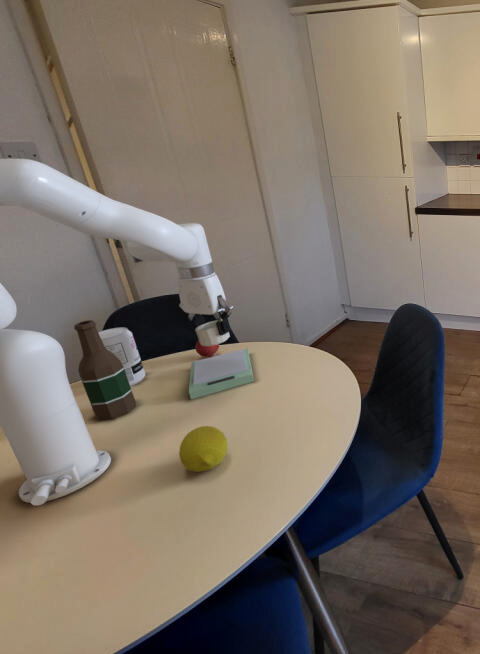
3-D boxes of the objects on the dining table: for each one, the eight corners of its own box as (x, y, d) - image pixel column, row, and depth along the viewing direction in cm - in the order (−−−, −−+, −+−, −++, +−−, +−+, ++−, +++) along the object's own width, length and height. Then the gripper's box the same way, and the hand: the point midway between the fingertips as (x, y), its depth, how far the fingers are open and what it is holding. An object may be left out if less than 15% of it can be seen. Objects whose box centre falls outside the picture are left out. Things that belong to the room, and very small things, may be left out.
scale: (253, 381, 114) (251, 372, 113) (190, 399, 106) (187, 389, 105) (249, 355, 128) (247, 346, 127) (193, 369, 121) (190, 360, 120)
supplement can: (99, 387, 112) (80, 338, 108) (133, 372, 120) (117, 325, 115) (120, 392, 110) (101, 341, 105) (153, 376, 117) (137, 328, 113)
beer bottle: (86, 418, 100) (50, 328, 92) (122, 399, 107) (91, 314, 99) (110, 423, 98) (75, 331, 90) (145, 403, 105) (115, 317, 98)
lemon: (231, 472, 83) (222, 439, 80) (182, 489, 79) (171, 455, 76) (231, 440, 91) (222, 410, 89) (187, 455, 87) (177, 423, 85)
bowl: (230, 341, 113) (224, 324, 112) (200, 350, 110) (194, 333, 109) (230, 333, 119) (225, 317, 117) (202, 341, 116) (196, 325, 114)
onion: (209, 362, 124) (203, 338, 122) (193, 361, 125) (187, 337, 123) (226, 353, 130) (220, 330, 127) (210, 351, 131) (204, 328, 128)
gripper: (155, 274, 106) (173, 336, 112) (212, 277, 103) (229, 340, 109) (182, 265, 113) (198, 324, 119) (236, 267, 110) (251, 328, 116)
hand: (213, 331), depth 114 cm, fingers closed on bowl, 7 cm apart
